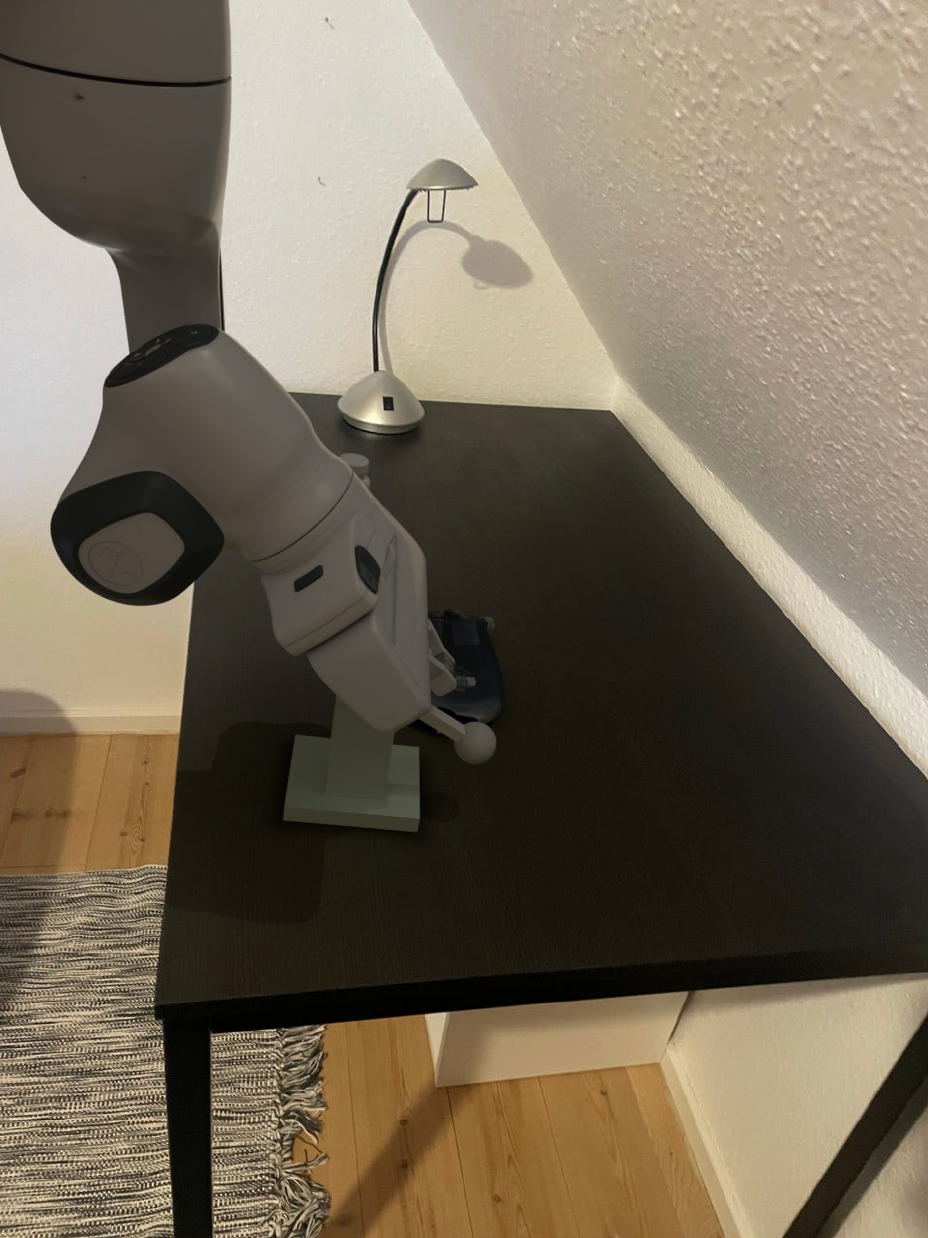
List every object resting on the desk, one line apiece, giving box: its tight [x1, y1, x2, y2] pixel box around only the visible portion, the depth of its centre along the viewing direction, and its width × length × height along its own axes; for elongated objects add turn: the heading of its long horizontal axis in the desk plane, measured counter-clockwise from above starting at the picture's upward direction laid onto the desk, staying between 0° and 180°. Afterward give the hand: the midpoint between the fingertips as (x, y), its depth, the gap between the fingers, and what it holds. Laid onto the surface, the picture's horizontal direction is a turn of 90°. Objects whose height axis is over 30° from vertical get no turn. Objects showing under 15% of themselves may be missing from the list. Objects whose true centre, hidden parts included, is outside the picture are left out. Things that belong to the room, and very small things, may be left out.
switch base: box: [282, 694, 421, 833], centre depth 70 cm, size 10×8×13 cm
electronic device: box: [428, 608, 506, 734], centre depth 86 cm, size 9×6×15 cm
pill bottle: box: [338, 452, 371, 491], centre depth 108 cm, size 4×4×8 cm
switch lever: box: [418, 705, 497, 765], centre depth 70 cm, size 13×3×3 cm
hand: (448, 680), depth 68 cm, fingers closed
